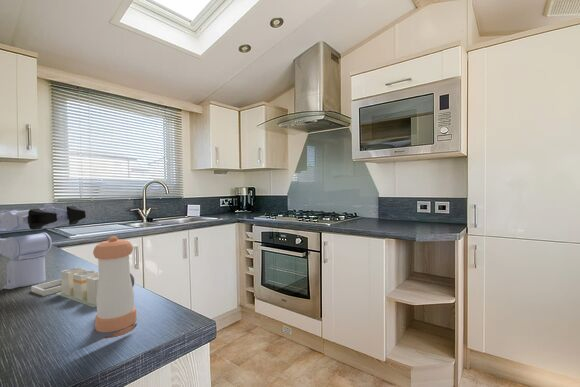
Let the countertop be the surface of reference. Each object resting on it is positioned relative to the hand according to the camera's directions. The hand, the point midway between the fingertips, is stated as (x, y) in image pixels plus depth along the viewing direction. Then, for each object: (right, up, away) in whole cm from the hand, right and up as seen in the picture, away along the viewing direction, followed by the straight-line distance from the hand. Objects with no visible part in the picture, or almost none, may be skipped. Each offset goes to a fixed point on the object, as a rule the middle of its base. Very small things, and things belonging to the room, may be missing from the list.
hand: (70, 215), depth 81 cm
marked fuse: (+8, -21, -5) cm, 23 cm away
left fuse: (+3, -21, -2) cm, 21 cm away
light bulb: (+22, -22, -13) cm, 34 cm away
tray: (-5, -22, 0) cm, 22 cm away
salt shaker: (+26, -22, -21) cm, 40 cm away
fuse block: (+8, -22, -5) cm, 24 cm away
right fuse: (+14, -20, -9) cm, 26 cm away
